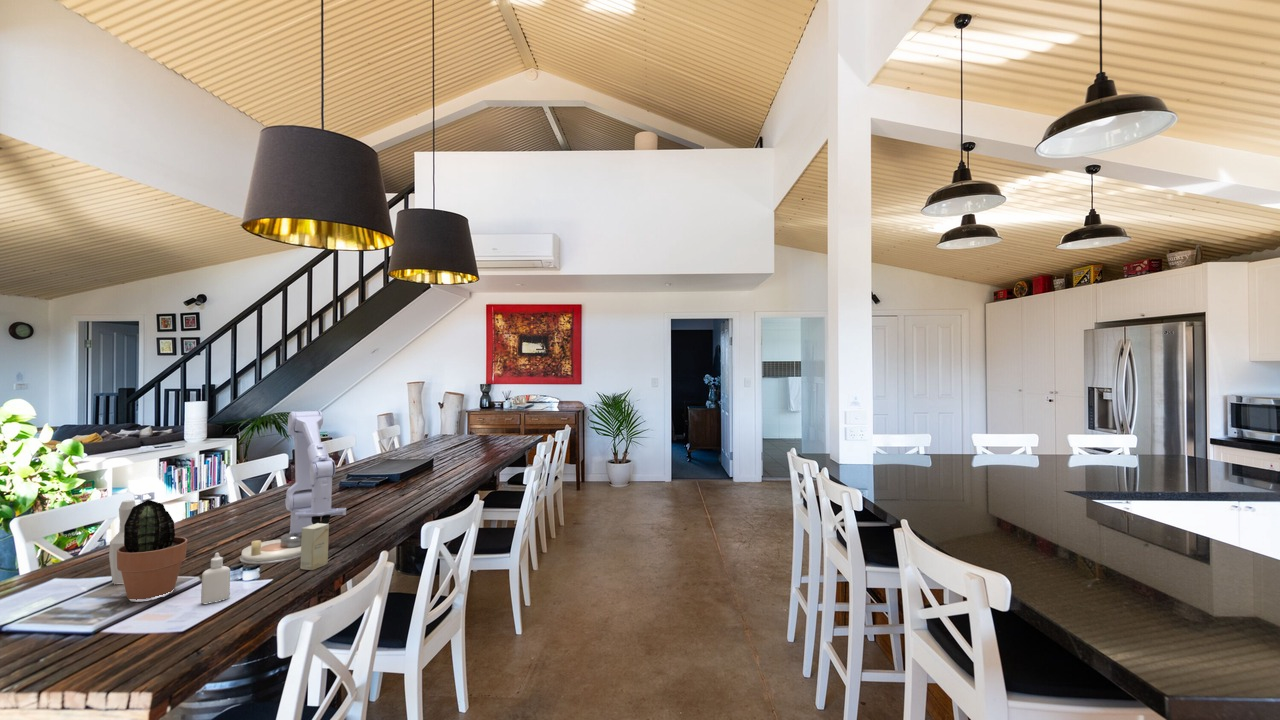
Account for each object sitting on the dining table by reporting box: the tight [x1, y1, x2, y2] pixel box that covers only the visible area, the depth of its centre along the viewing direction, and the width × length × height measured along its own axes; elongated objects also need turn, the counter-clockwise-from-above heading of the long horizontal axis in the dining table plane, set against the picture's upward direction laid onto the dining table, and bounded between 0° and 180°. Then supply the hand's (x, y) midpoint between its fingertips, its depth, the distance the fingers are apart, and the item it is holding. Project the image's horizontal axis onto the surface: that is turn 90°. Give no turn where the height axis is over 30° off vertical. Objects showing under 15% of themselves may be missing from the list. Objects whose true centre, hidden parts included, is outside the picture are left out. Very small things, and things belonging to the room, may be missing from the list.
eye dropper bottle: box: [200, 552, 231, 604], centre depth 138 cm, size 4×6×12 cm
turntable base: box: [238, 554, 301, 565], centre depth 174 cm, size 19×19×1 cm
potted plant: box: [117, 499, 188, 600], centre depth 141 cm, size 14×14×25 cm
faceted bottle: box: [108, 499, 137, 585], centre depth 150 cm, size 6×6×22 cm
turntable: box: [241, 538, 301, 562], centre depth 174 cm, size 18×18×6 cm
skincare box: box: [299, 522, 330, 571], centre depth 163 cm, size 6×4×12 cm
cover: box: [280, 532, 302, 548], centre depth 176 cm, size 7×7×3 cm
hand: (320, 538), depth 180 cm, fingers closed
